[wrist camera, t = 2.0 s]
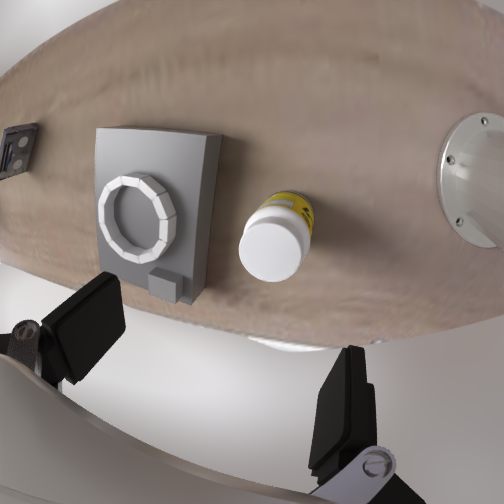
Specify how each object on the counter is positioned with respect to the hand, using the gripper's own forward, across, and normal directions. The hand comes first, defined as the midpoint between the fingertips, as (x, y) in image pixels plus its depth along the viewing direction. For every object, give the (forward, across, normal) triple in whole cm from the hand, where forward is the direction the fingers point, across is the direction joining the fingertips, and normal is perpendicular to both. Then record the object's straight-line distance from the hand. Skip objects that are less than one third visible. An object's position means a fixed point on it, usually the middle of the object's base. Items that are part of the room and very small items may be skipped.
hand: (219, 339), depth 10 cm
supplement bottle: (+16, 0, 0) cm, 16 cm away
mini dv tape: (+17, +38, -3) cm, 42 cm away
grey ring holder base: (+16, +12, +2) cm, 21 cm away
